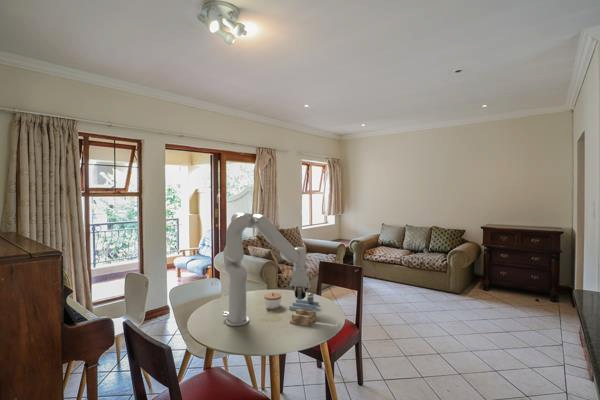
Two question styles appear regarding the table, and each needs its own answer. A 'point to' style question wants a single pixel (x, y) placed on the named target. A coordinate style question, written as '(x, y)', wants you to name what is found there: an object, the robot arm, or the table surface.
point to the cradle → (303, 317)
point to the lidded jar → (272, 300)
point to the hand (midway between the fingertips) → (300, 297)
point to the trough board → (304, 305)
